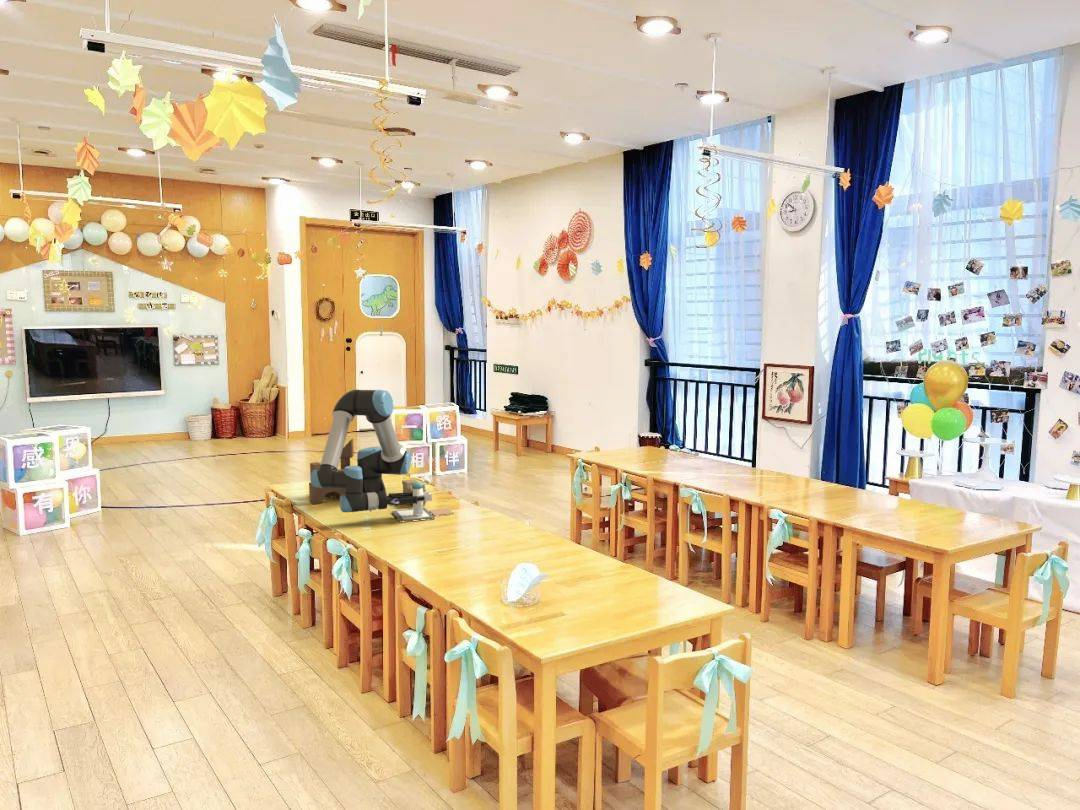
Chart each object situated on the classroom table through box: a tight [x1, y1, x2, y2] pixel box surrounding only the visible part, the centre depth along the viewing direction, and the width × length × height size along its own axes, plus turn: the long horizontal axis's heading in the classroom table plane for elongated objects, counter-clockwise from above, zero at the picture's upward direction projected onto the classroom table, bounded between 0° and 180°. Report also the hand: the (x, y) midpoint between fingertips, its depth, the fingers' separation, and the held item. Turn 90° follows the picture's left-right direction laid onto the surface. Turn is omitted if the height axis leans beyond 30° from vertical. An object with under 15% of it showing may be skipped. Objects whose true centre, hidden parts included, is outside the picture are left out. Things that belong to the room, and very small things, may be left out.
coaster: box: [428, 507, 455, 517], centre depth 358 cm, size 9×9×1 cm
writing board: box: [391, 507, 436, 523], centre depth 353 cm, size 18×15×1 cm
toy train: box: [401, 479, 428, 506], centre depth 375 cm, size 6×17×10 cm, turn 31°
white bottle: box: [412, 481, 424, 516], centre depth 349 cm, size 5×5×14 cm
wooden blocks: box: [308, 438, 355, 505], centre depth 385 cm, size 24×20×28 cm
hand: (429, 496), depth 351 cm, fingers closed on white bottle, 4 cm apart
